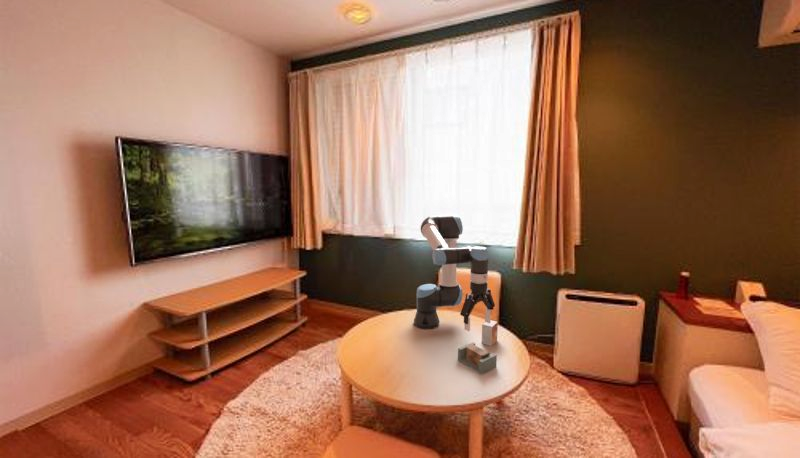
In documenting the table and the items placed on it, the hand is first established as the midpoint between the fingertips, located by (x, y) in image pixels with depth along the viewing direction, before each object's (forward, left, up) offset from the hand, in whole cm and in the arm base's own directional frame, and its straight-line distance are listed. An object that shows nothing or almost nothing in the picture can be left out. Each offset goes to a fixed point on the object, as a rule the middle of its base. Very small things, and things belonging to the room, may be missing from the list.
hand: (477, 326), depth 150 cm
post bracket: (0, 0, -19) cm, 19 cm away
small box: (-10, +21, -19) cm, 30 cm away
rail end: (+1, 0, -18) cm, 18 cm away
